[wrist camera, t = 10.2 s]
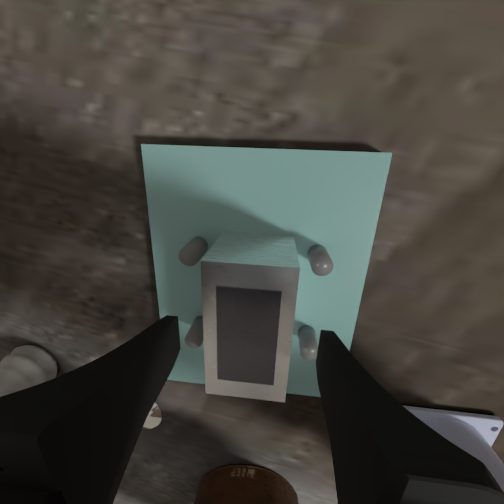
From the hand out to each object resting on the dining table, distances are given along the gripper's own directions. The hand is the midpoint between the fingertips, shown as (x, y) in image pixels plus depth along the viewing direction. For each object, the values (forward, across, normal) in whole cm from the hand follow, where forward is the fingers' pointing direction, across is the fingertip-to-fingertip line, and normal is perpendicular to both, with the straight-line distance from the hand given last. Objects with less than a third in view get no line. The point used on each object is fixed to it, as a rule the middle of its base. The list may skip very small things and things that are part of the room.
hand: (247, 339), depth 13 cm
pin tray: (+6, 0, 0) cm, 6 cm away
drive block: (+5, 0, 0) cm, 5 cm away
